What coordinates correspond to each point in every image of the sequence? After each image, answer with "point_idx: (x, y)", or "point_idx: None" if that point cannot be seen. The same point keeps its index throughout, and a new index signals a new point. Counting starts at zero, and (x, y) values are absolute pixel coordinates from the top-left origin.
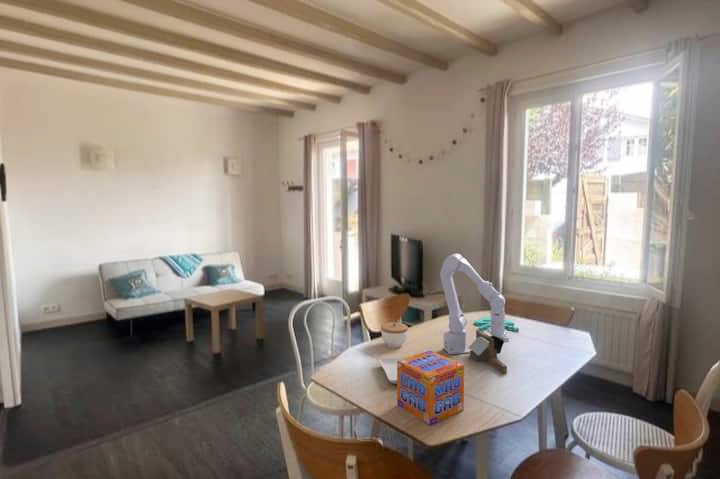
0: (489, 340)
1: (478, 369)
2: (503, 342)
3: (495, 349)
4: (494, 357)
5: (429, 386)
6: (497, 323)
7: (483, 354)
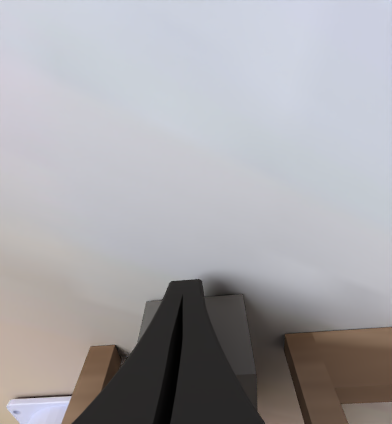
0: None
1: (362, 410)
2: (250, 409)
3: (247, 381)
4: (356, 390)
5: None
6: None
7: None
